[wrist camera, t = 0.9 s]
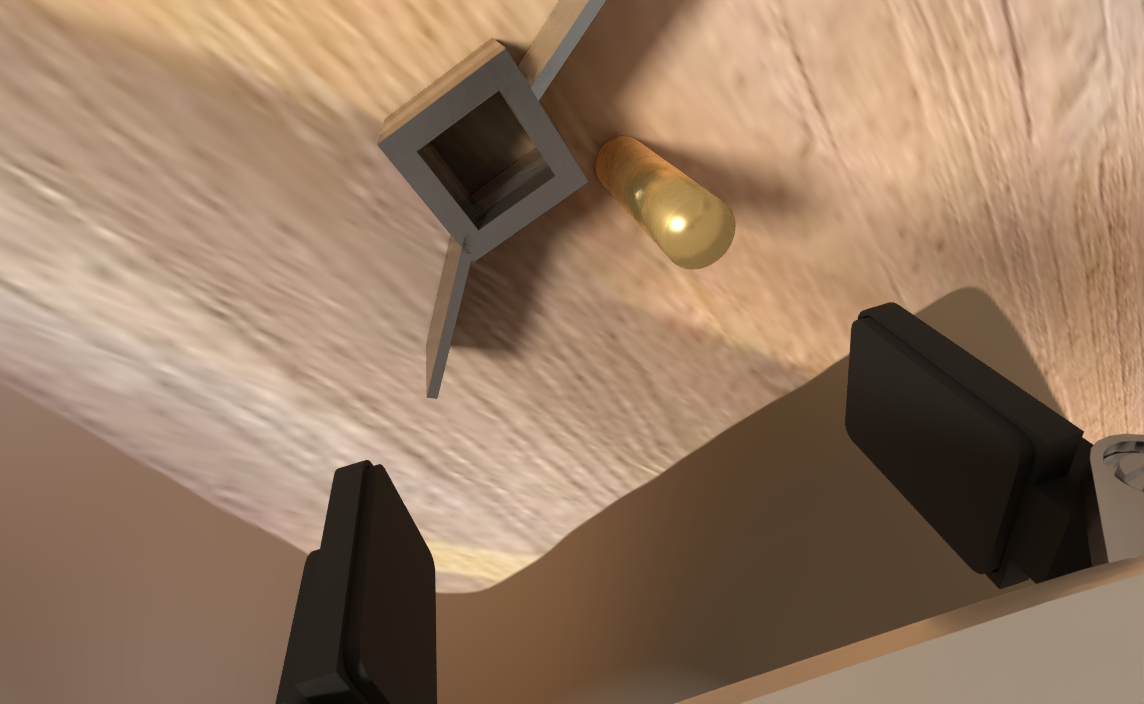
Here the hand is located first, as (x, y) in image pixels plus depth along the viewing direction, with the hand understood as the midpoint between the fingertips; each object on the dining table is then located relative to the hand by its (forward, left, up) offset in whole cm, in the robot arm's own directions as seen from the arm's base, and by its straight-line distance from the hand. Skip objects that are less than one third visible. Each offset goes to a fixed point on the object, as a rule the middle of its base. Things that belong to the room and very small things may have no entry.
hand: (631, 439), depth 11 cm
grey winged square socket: (0, +1, -26) cm, 26 cm away
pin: (-5, +5, -26) cm, 27 cm away
